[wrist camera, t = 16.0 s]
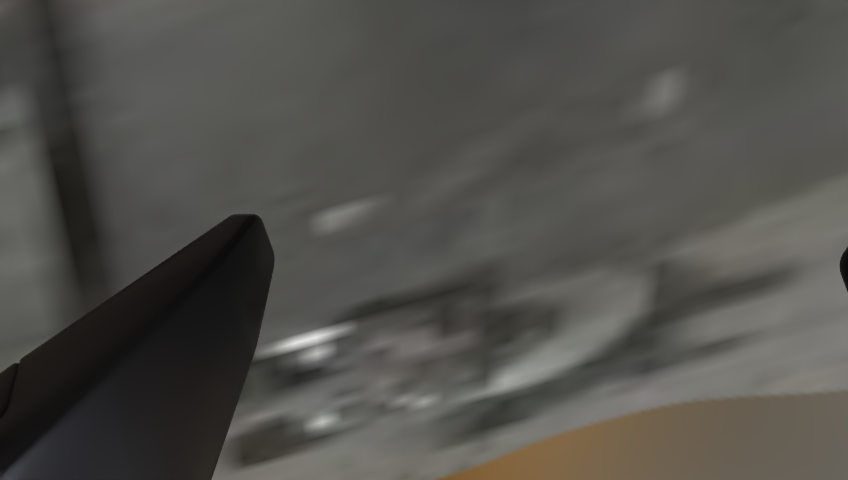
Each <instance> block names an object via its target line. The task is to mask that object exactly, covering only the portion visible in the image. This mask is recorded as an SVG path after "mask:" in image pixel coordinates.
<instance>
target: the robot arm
mask: <svg viewBox="0 0 848 480" xmlns="http://www.w3.org/2000/svg"><path fill="white" fill-rule="evenodd" d="M273 268H274V252H273V249H272V246H271V243H270V241H269V238H268V235H267V232H266V229H265V227H264V224H263V222H262V219H261V218H260V217H259V216H257V215H255V214H235V215H231V216H230V217H228V218H227V219H225V220H224V221H222V222H221V223H219V224H218V225H216V226H215V227H213V228H212V229H210V230H209V231H207V232H206V233H205V234H203V235H202V236H200V237H199V238H197V239H196V240H194V241H193V242H191V243H190V244H188V245H187V246H186V247H184V248H183V249H181V250H180V251H178V252H177V253H175V254H174V255H172V256H171V257H169V258H168V259H167V260H165V261H164V262H162V263H161V264H159V265H158V266H156V267H155V268H153V269H152V270H150V271H149V272H147V273H146V274H145V275H143V276H142V277H140V278H139V279H137V280H136V281H134V282H133V283H131V284H130V285H128V286H127V287H126V288H124V289H123V290H121V291H120V292H118V293H117V294H115V295H114V296H112V297H111V298H109V299H108V300H106V301H105V302H104V303H102V304H101V305H99V306H98V307H96V308H95V309H93V310H92V311H90V312H89V313H87V314H86V315H84V316H83V317H82V318H80V319H79V320H77V321H76V322H74V323H73V324H71V325H70V326H68V327H67V328H65V329H64V330H63V331H61V332H60V333H58V334H57V335H55V336H54V337H52V338H51V339H49V340H48V341H46V342H45V343H43V344H42V345H41V346H39V347H38V348H36V349H35V350H33V351H32V352H30V353H29V354H27V355H26V356H24V357H23V358H22V359H21V360H20V363H14V364H12V365H11V366H10V367H8V368H7V369H5V370H4V371H2V372H1V373H0V480H211V479H212V476H213V473H214V470H215V467H216V464H217V461H218V458H219V456H220V453H221V450H222V447H223V444H224V441H225V438H226V435H227V432H228V429H229V426H230V423H231V420H232V418H233V415H234V412H235V409H236V406H237V403H238V400H239V397H240V394H241V391H242V388H243V385H244V382H245V379H246V377H247V374H248V371H249V368H250V365H251V362H252V359H253V356H254V352H255V349H256V346H257V342H258V338H259V334H260V329H261V324H262V320H263V315H264V310H265V306H266V301H267V296H268V292H269V287H270V282H271V278H272V273H273ZM840 272H841V275H842V278H843V281H844V283H845V286H846V288H847V291H848V247H847V249H846V250H845V252H844V253H843V255H842V257H841V260H840Z"/></svg>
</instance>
